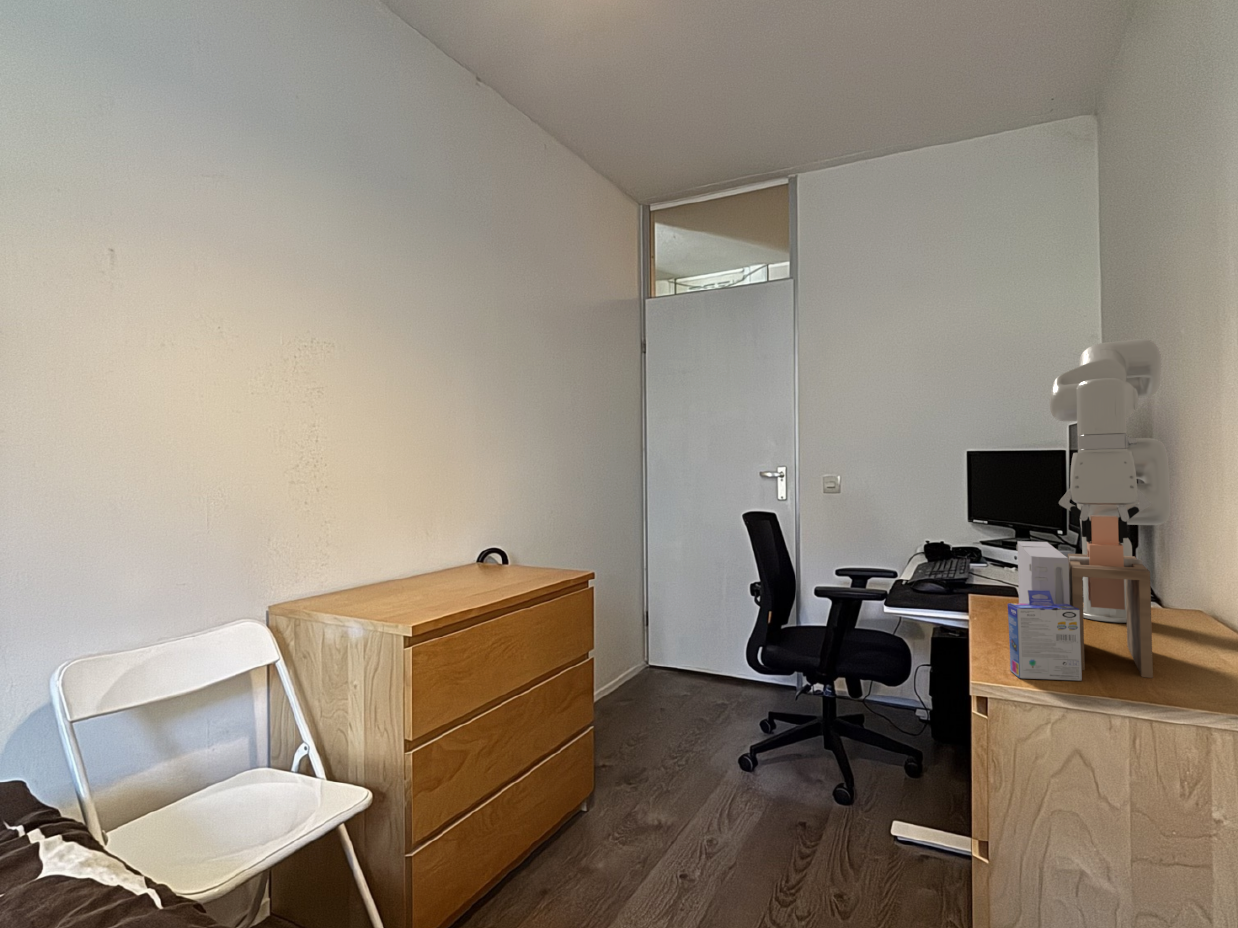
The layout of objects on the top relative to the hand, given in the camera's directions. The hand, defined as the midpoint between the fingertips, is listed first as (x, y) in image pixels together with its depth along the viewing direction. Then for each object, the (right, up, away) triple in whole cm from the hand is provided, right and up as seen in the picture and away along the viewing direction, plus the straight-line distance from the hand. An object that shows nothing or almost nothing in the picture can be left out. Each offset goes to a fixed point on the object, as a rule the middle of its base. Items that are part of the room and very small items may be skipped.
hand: (1104, 540), depth 126 cm
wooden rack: (0, -22, 0) cm, 22 cm away
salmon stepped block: (0, -12, 0) cm, 12 cm away
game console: (-8, -22, +6) cm, 25 cm away
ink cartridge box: (-18, -22, -10) cm, 30 cm away
